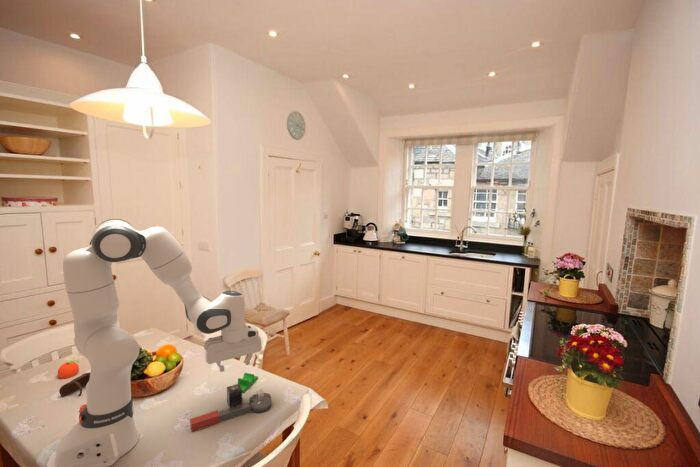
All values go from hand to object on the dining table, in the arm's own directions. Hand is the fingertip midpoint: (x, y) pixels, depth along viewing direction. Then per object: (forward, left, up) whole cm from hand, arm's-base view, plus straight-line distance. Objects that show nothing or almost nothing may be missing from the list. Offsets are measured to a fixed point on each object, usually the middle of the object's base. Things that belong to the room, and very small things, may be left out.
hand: (235, 367), depth 124 cm
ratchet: (+8, -7, -14) cm, 18 cm away
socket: (0, 0, -14) cm, 14 cm away
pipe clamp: (+10, +8, -12) cm, 18 cm away
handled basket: (-48, +33, -15) cm, 60 cm away
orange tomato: (-57, +53, -15) cm, 80 cm away
